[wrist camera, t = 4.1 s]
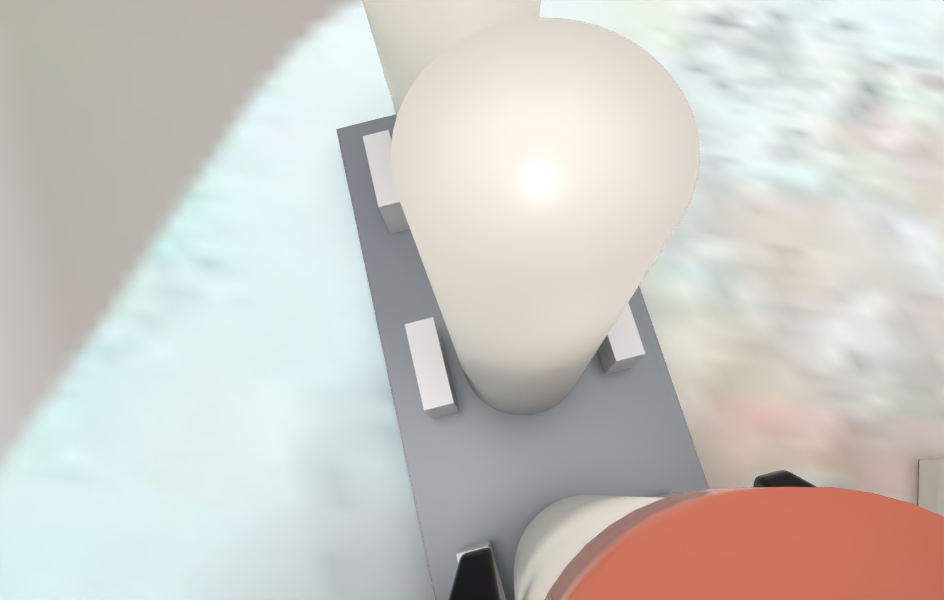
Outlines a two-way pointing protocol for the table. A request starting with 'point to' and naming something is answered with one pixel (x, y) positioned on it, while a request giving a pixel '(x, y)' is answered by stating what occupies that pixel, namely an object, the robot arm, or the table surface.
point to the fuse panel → (509, 449)
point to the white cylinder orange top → (733, 547)
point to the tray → (931, 485)
